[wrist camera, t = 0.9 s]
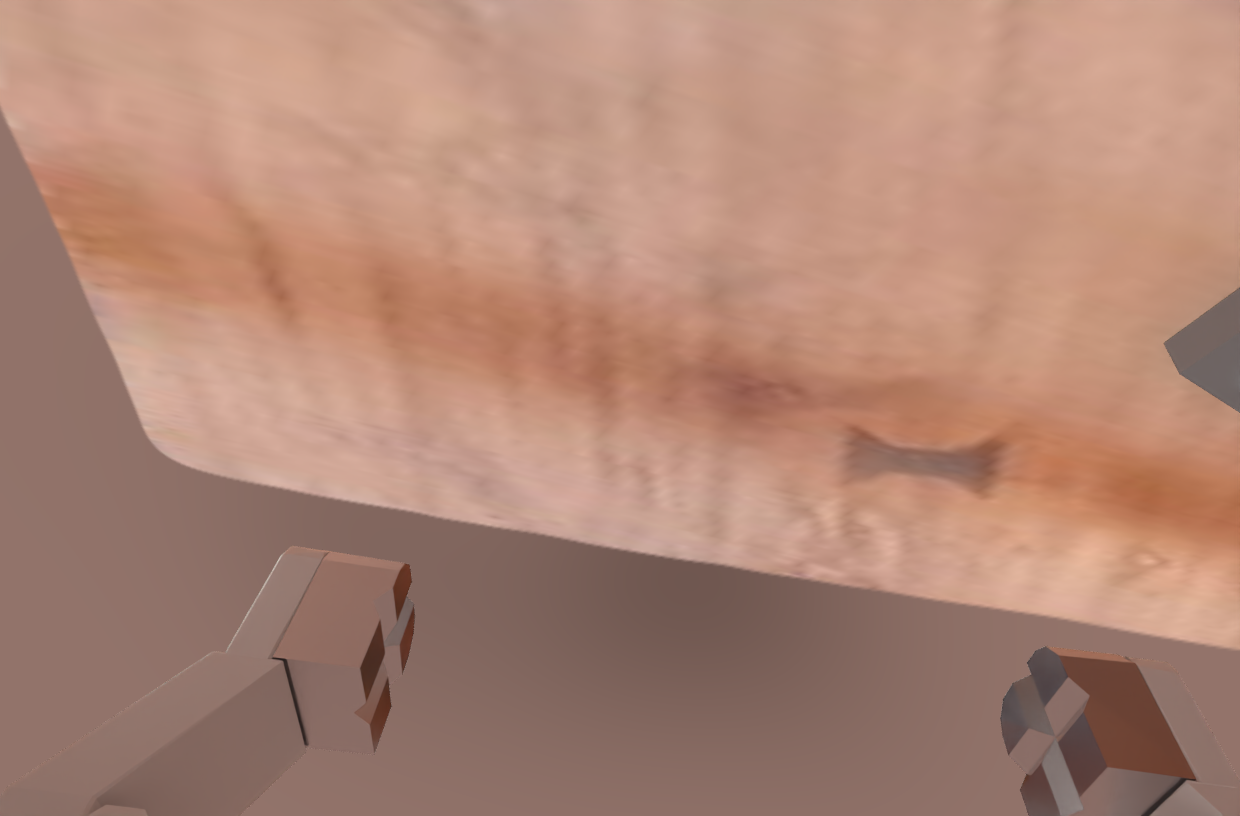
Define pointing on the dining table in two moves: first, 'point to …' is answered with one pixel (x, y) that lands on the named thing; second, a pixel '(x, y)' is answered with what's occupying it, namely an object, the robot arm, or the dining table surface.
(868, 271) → the dining table surface
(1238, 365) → the fader console
